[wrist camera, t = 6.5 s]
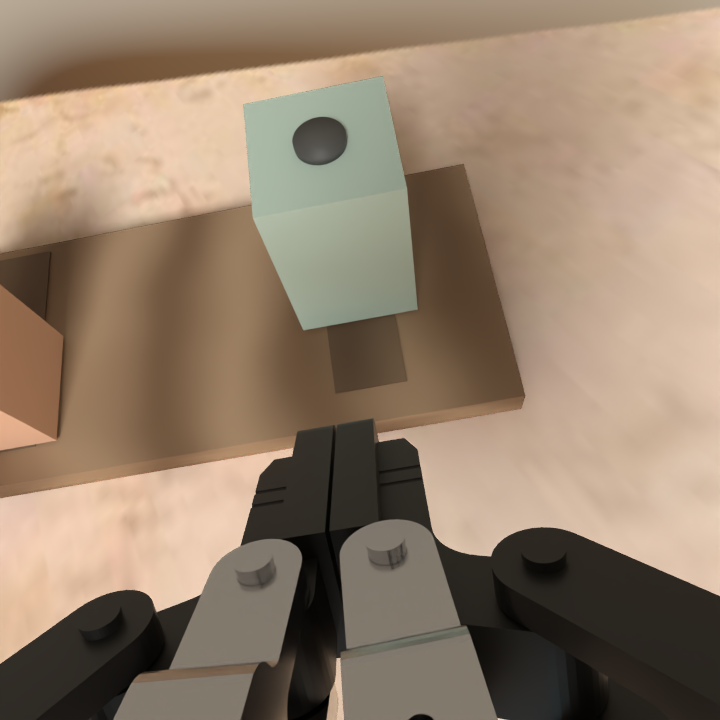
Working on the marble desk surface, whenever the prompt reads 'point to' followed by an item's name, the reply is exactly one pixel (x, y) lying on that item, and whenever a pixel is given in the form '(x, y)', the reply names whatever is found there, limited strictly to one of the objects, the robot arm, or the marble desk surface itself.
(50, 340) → the tile two
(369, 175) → the tile one
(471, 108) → the marble desk surface
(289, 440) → the tile board
